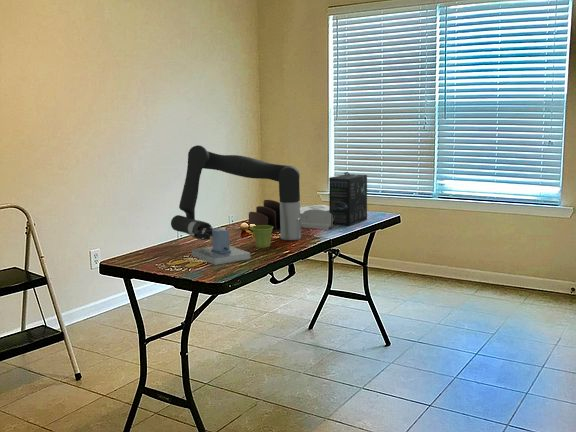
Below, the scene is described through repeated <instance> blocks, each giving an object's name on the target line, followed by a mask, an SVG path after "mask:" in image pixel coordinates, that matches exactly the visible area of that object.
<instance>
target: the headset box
mask: <svg viewBox="0 0 576 432" xmlns="http://www.w3.org/2000/svg"><path fill="white" fill-rule="evenodd" d="M328 180H329V181H328V183H329V184H328V185H329V188H328V190H329V194H328V195H329V199H328V200H329V205H328V206H329V213H331V214H332V215H333V225H336V226H337V225H338V226H347V227H349V226H351V225H354V224H357V223H360V222H363V221H366V220H368V175H367V174H351V173H349V172H348V171H346V172H343V174H341V175H335V176H330V177H329V178H328Z"/></svg>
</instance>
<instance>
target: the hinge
mask: <svg viewBox="0 0 576 432" xmlns="http://www.w3.org/2000/svg"><path fill="white" fill-rule="evenodd" d="M333 225H334V224H333V215H332V214H331V213H329V212H327V211H324V210H319V209H312V210H307V211H304V212H303V216H302V220H301V228H306V229H320V230H329V229H333Z"/></svg>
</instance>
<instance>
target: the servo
mask: <svg viewBox="0 0 576 432" xmlns="http://www.w3.org/2000/svg"><path fill="white" fill-rule="evenodd" d="M218 228H219V227H218ZM225 228H226V227H223V228H219V229H213V230H212V237H211V239H212V247H213V248H212V249H211V250H213V252H215V253H218V254H223V253H229V252H231V250H230V247H229V246H230V230H226V229H225Z"/></svg>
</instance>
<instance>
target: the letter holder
mask: <svg viewBox="0 0 576 432" xmlns="http://www.w3.org/2000/svg"><path fill="white" fill-rule="evenodd" d="M255 209H256V210H255V211H249V212H248V225H249V224H255V225H256V226H258V225H269V226H273V229H272V233H278V232H280V201H276V200H272V199H264V200H263V206H262V205H258V206H256V208H255Z"/></svg>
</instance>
